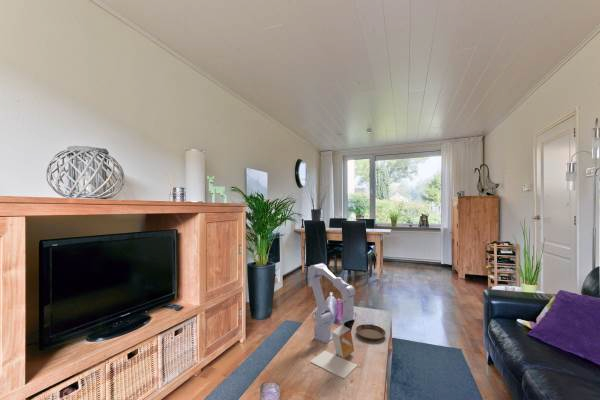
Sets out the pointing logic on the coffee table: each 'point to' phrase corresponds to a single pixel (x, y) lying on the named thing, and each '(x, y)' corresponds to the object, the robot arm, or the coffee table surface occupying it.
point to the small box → (343, 341)
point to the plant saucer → (370, 332)
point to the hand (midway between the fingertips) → (348, 333)
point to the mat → (334, 364)
